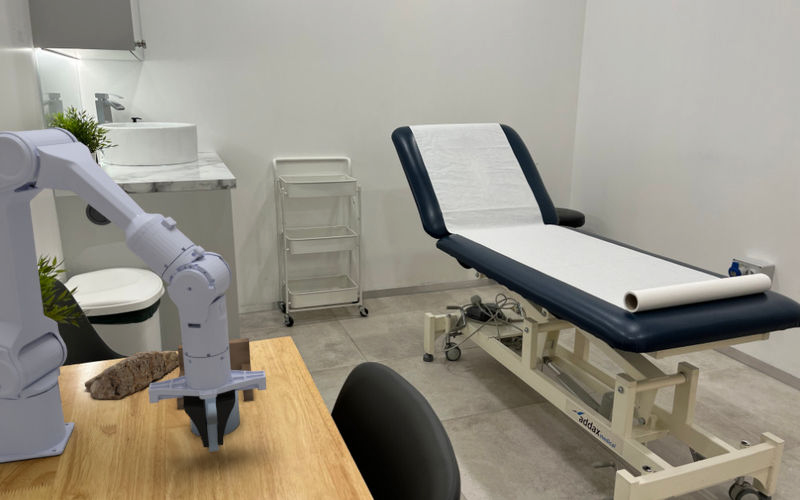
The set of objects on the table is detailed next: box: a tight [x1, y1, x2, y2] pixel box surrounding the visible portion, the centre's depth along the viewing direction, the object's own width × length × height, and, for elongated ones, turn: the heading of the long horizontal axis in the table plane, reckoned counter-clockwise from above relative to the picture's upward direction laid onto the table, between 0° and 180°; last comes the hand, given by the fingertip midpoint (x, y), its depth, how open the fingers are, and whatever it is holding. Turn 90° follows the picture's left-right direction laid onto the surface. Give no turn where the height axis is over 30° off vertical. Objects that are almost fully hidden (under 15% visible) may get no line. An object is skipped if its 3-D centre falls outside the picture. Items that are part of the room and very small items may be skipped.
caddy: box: [176, 337, 254, 410], centre depth 99 cm, size 12×9×7 cm
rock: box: [84, 350, 179, 400], centre depth 103 cm, size 15×10×6 cm
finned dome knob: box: [189, 391, 241, 453], centre depth 86 cm, size 7×13×6 cm, turn 16°
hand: (213, 442), depth 81 cm, fingers closed on finned dome knob
